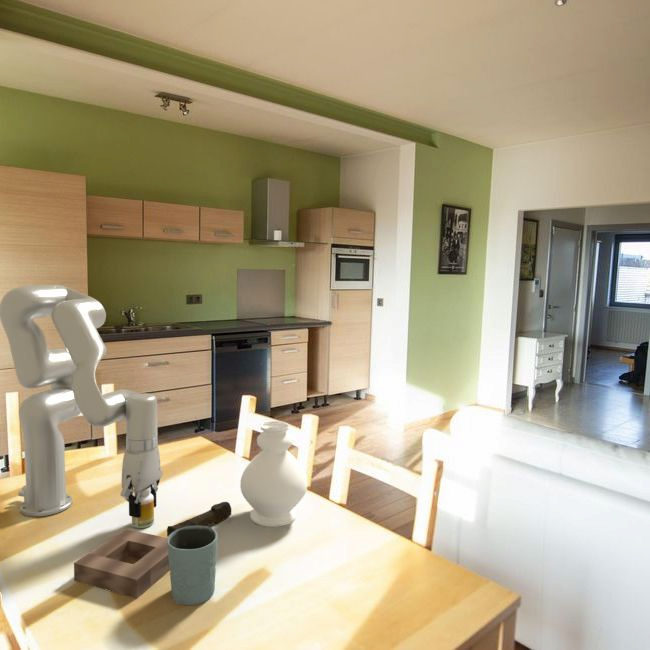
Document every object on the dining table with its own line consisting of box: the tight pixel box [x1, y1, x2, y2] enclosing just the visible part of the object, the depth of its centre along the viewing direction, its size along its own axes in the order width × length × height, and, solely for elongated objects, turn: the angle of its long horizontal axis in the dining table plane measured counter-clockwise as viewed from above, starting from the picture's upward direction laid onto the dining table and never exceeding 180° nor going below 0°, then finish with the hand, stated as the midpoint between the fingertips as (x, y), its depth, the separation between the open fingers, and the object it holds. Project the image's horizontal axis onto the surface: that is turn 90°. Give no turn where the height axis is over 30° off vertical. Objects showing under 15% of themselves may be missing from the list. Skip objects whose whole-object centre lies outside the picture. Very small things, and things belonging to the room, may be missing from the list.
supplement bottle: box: [131, 486, 155, 529], centre depth 139 cm, size 5×5×10 cm
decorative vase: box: [240, 420, 308, 528], centre depth 144 cm, size 18×18×25 cm
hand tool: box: [166, 501, 232, 538], centre depth 137 cm, size 19×4×5 cm, turn 138°
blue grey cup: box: [166, 526, 219, 606], centre depth 110 cm, size 10×10×12 cm
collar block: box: [73, 528, 170, 599], centre depth 118 cm, size 16×16×4 cm
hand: (142, 510), depth 139 cm, fingers closed on supplement bottle, 5 cm apart
